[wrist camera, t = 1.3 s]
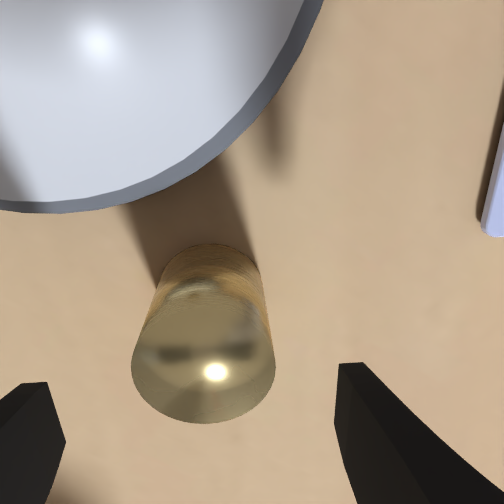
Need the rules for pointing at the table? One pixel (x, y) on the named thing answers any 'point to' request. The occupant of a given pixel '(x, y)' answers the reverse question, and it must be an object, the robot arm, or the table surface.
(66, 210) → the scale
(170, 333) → the cylinder
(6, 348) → the table surface
